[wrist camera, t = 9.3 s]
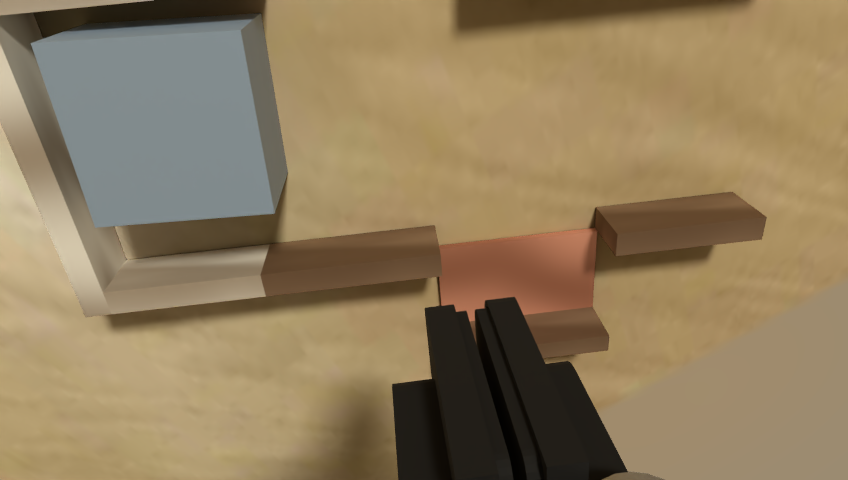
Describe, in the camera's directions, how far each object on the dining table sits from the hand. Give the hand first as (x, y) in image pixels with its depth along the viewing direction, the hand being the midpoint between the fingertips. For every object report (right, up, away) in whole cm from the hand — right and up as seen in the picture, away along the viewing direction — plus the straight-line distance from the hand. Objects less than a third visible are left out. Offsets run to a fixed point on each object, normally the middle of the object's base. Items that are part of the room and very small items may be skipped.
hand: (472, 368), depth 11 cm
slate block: (-10, +8, +11) cm, 16 cm away
